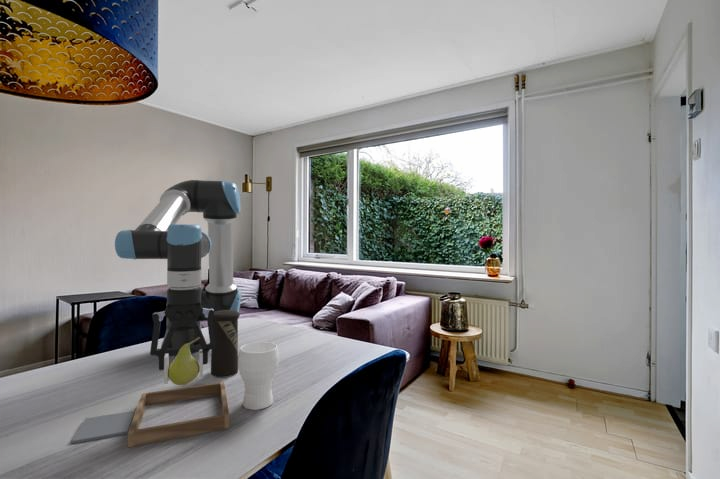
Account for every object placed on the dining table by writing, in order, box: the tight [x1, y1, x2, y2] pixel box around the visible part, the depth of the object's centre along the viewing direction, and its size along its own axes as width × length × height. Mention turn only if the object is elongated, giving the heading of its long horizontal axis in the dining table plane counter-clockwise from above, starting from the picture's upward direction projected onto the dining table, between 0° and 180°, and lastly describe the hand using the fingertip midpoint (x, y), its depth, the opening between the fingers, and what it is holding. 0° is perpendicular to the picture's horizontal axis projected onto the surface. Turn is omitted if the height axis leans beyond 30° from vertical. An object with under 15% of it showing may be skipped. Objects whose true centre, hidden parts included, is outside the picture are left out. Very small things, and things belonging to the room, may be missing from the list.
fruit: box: [168, 337, 200, 386], centre depth 88 cm, size 7×8×12 cm
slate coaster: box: [71, 410, 136, 444], centre depth 82 cm, size 10×10×1 cm
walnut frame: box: [127, 381, 230, 448], centre depth 88 cm, size 20×20×3 cm
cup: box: [238, 341, 280, 411], centre depth 95 cm, size 11×11×15 cm
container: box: [210, 310, 241, 378], centre depth 115 cm, size 9×9×20 cm
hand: (183, 379), depth 88 cm, fingers closed on fruit, 7 cm apart
